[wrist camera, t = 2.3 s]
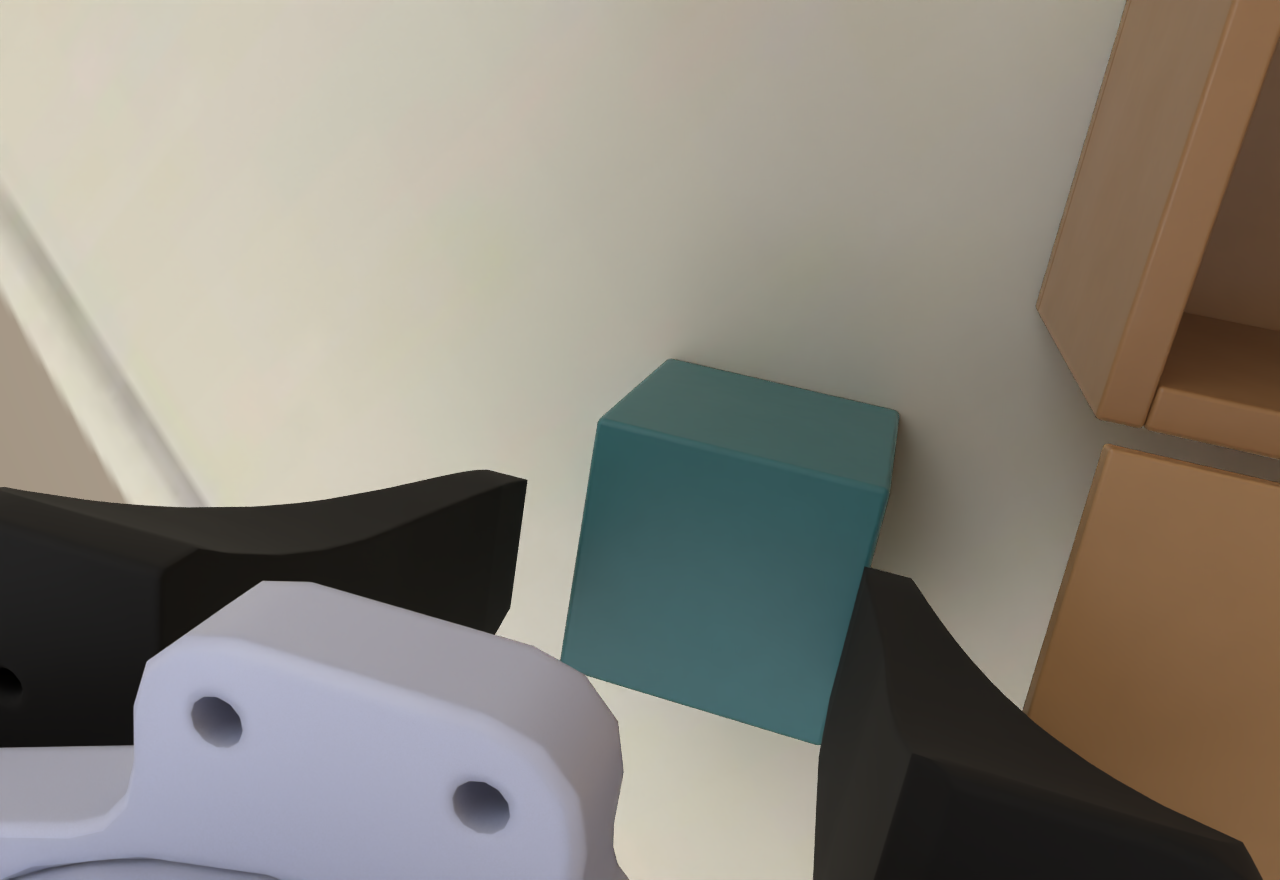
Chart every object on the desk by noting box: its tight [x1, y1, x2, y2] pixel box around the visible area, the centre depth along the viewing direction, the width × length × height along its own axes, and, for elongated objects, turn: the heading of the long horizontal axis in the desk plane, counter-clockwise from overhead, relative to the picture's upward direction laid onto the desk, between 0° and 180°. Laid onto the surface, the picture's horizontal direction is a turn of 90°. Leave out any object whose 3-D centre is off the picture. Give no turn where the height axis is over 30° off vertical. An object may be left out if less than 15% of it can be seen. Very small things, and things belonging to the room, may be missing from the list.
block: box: [560, 359, 899, 745], centre depth 16 cm, size 4×4×4 cm
